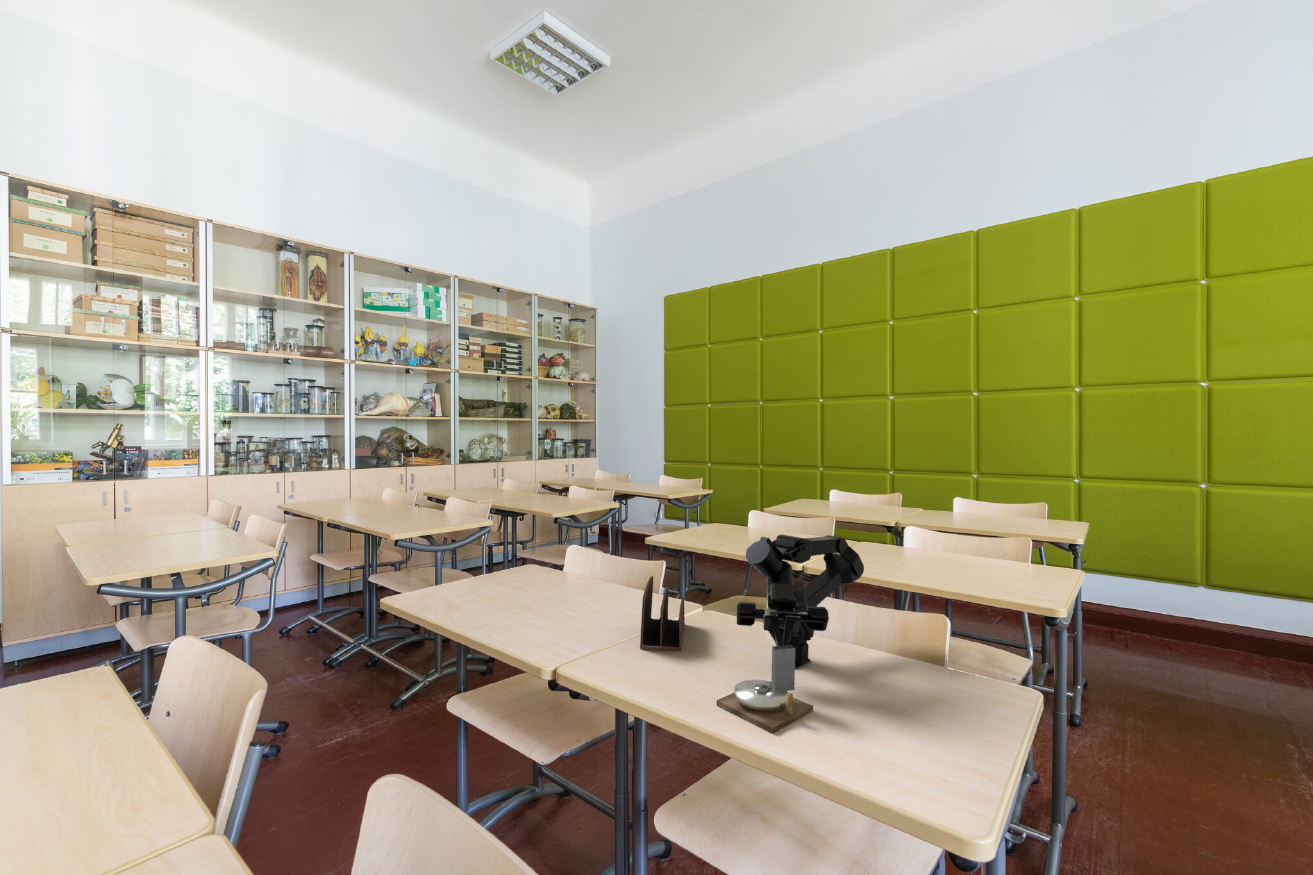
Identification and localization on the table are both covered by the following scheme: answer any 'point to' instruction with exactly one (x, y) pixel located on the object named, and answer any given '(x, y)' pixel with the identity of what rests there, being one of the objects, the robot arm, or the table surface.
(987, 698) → the table surface
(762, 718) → the walnut board
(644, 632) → the letter holder
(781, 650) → the disc and block
